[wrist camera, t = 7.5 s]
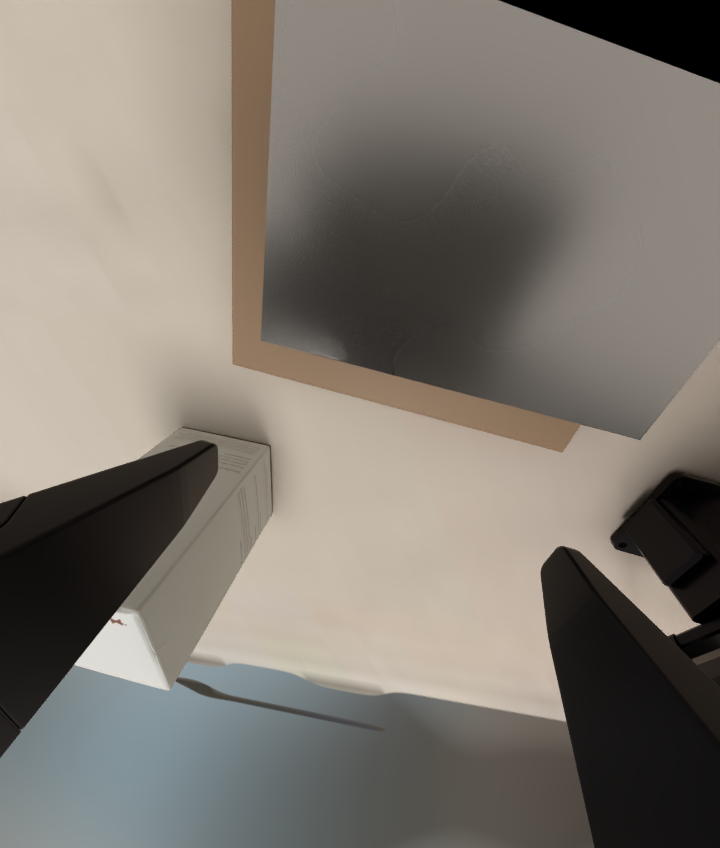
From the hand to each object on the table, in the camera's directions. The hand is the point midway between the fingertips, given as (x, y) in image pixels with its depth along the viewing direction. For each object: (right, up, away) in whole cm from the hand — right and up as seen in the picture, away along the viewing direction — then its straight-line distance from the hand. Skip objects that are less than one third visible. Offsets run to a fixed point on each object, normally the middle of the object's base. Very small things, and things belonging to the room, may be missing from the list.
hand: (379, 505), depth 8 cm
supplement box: (-11, -2, +17) cm, 21 cm away
